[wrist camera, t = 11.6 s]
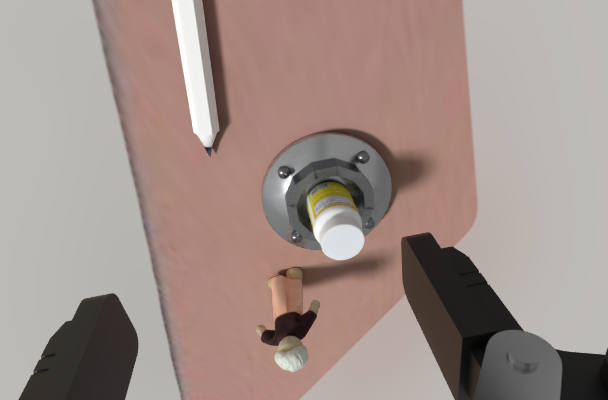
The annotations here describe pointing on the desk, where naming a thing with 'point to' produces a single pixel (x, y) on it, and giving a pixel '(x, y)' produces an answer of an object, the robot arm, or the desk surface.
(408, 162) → the desk surface
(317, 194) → the supplement bottle
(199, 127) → the white pencil
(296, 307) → the grandmother figurine
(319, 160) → the hub plate
